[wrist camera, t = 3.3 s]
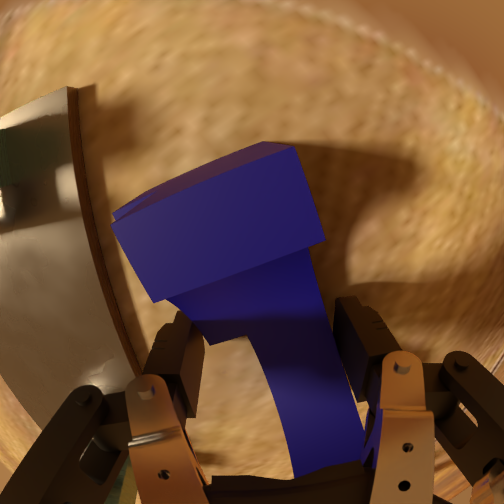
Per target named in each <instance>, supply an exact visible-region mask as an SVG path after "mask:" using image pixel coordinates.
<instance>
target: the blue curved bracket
mask: <svg viewBox="0 0 504 504" xmlns="http://www.w3.org/2000/svg"><path fill="white" fill-rule="evenodd" d="M112 214H113V216H114V218H115V220H116V221H115V222H114V223H112V224H111V225H110V226H111V228H112V230H113V232H114V234H115V235H116V237H117V239H118V241H119V243H120V245H121V247H122V249H123V251H124V253H125V254H126V256H127V258H128V260H129V262H130V264H131V265H132V267H133V269H134V271H135V273H136V274H137V276H138V278H139V280H140V281H141V283H142V285H143V287H144V288H145V290H146V292H147V293H148V295H149V297H150V298H151V300H152V302H153V303H156V302H159V301H162V300H164V299H166V300H167V301H169V302H171V303H172V304H174V305H175V306H176V307H178V308H179V309H180V310H181V311H182V312H183V313H184V314H185V315H186V316H188V317H189V319H190V320H191V321H192V322H193V323H194V324H195V325H196V327H197V328H198V329H199V331H200V332H201V333H202V335H203V336H204V338H205V339H206V340H207V342H208V343H209V345H210V346H211V345H214V344H217V343H221V342H224V341H227V340H231V339H234V338H237V337H240V336H244V335H247V336H248V338H249V340H250V342H251V344H252V346H253V348H254V351H255V353H256V355H257V357H258V359H259V362H260V364H261V366H262V369H263V371H264V374H265V376H266V379H267V381H268V384H269V387H270V389H271V392H272V395H273V398H274V401H275V404H276V407H277V410H278V413H279V416H280V420H281V423H282V426H283V430H284V434H285V437H286V441H287V445H288V449H289V454H290V458H291V463H292V468H293V473H294V478H297V477H300V476H303V475H306V474H308V473H311V472H314V471H316V470H319V469H321V468H324V467H326V466H332V465H337V464H342V463H346V462H351V461H355V460H359V457H360V453H361V448H362V443H363V437H364V429H363V426H362V423H361V420H360V417H359V414H358V411H357V408H356V405H355V402H354V399H353V396H352V393H351V389H350V386H349V383H348V380H347V377H346V374H345V371H344V368H343V365H342V362H341V359H340V355H339V352H338V349H337V346H336V343H335V340H334V337H333V333H332V330H331V327H330V324H329V321H328V317H327V314H326V311H325V308H324V304H323V301H322V298H321V294H320V291H319V288H318V284H317V281H316V277H315V274H314V270H313V266H312V262H311V258H310V253H309V249H308V247H309V246H312V245H315V244H317V243H320V242H323V241H325V240H326V239H325V236H324V233H323V229H322V226H321V223H320V220H319V217H318V213H317V210H316V207H315V204H314V201H313V198H312V195H311V192H310V189H309V186H308V183H307V180H306V178H305V175H304V172H303V169H302V166H301V163H300V161H299V158H298V155H297V152H296V150H295V147H294V146H290V145H284V144H277V143H271V142H264V141H263V142H260V143H257V144H254V145H252V146H249V147H247V148H244V149H241V150H239V151H236V152H234V153H231V154H229V155H226V156H224V157H221V158H219V159H216V160H214V161H212V162H209V163H207V164H205V165H202V166H200V167H198V168H195V169H193V170H191V171H189V172H186V173H184V174H182V175H180V176H177V177H175V178H173V179H171V180H169V181H167V182H165V183H162V184H160V185H158V186H156V187H154V188H152V189H150V190H148V191H146V192H144V193H143V194H141V195H139V196H138V197H136V198H135V199H133V200H132V201H130V202H128V203H127V204H125V205H124V206H122V207H121V208H119V209H118V210H116V211H115V212H113V213H112Z"/></svg>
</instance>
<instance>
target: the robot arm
mask: <svg viewBox="0 0 504 504" xmlns="http://www.w3.org/2000/svg"><path fill="white" fill-rule="evenodd" d="M333 337H334V340H335V343H336V346H337V349H338V352H339V355H340V358H341V361H342V363H343V366H344V369H345V371H346V374H347V376H348V379H349V382H350V384H351V387H352V390H353V392H354V395H355V398H356V400H357V403H359V402H364V401H367V402H368V405H369V408H368V411H367V417H366V424H365V430H364V437H363V443H362V448H361V453H360V457H359V460H355V461H351V462H346V463H342V464H337V465H332V466H326V467H324V468H321V469H319V470H316V471H314V472H311V473H308V474H306V475H303V476H300V477H297V478H294V479H291V480H280V479H272V478H264V477H257V476H251V475H240V476H212V483H211V484H209V483H208V481H207V479H206V477H205V475H204V473H203V471H202V469H201V466H200V464H199V462H198V459H197V457H196V454H195V452H194V449H193V447H192V444H191V442H190V439H189V436H188V434H187V431H186V429H185V425H186V418H196V412H197V404H198V397H199V389H200V382H201V375H202V368H203V361H204V354H205V348H204V340H203V335H202V333H201V332H200V331H199V329H198V328H197V327H196V325H195V324H194V323H193V322H192V321H191V320H190V319H189V317H188V316H186V315H185V314H184V313H183V312H182V311H181V310H179V311H177V313H176V316H175V319H174V322H173V323H166V324H165V325H164V326H163V327H162V328H161V329H160V330H159V331H158V332H157V335H156V338H155V340H154V341H155V342H154V343H153V346H152V350H151V351H150V354H149V357H148V359H147V362H146V365H145V368H144V371H143V373H142V375H141V376H138V377H136V378H134V379H133V380H131V381H130V382H129V383H128V385H127V387H126V389H125V391H122V392H117V393H112V394H106V395H103V393H102V392H101V390H100V389H99V388H98V387H96V386H94V385H83V386H80V387H78V388H76V389H74V390H73V391H72V392H71V393H70V394H69V396H68V397H67V398H66V399H65V401H64V402H63V403H62V405H61V406H60V408H59V409H58V410H57V412H56V413H55V414H54V416H53V417H52V418H51V420H50V421H49V423H48V424H47V425H46V427H45V428H44V430H43V431H42V432H41V434H40V435H39V437H38V438H37V439H36V441H35V442H34V444H33V445H32V447H31V448H30V450H29V451H28V452H27V454H26V455H25V457H24V458H23V460H22V461H21V463H20V464H19V466H18V467H17V469H16V470H15V472H14V474H13V475H12V477H11V478H10V480H9V481H8V483H7V484H6V486H5V488H4V489H3V491H2V493H1V494H0V504H104V503H105V501H106V499H107V497H108V495H109V493H110V491H111V489H112V487H113V485H114V483H115V481H116V479H117V477H118V475H119V473H120V471H121V469H122V467H123V465H124V463H125V461H126V459H127V457H128V455H129V454H130V459H131V464H132V468H133V473H134V477H135V481H136V485H137V489H138V493H139V496H140V500H141V503H142V504H452V503H450V502H448V501H446V500H444V499H442V498H440V497H438V496H436V495H434V494H433V486H434V464H435V438H436V439H437V441H438V442H439V443H440V445H441V446H442V447H443V448H444V450H445V451H446V452H447V454H448V455H449V456H450V458H451V459H452V460H453V462H454V463H455V464H456V465H457V467H458V468H459V469H460V471H461V472H462V473H463V475H464V476H465V477H466V479H467V480H468V482H469V483H470V484H471V486H472V487H473V488H472V494H471V495H472V497H471V498H470V504H504V385H503V384H502V383H501V382H500V381H499V380H498V379H497V378H495V377H494V376H493V375H492V374H491V373H490V372H489V371H488V370H487V369H486V368H485V367H484V366H483V365H481V364H480V363H479V362H478V361H477V360H476V359H475V358H474V357H473V356H471V355H470V354H468V353H466V352H463V351H453V352H450V353H448V354H447V355H446V356H445V358H444V360H443V363H422V362H421V360H420V359H419V358H418V357H417V356H416V355H414V354H412V353H410V352H407V351H402V349H401V348H400V346H399V344H398V343H397V341H396V340H395V338H394V337H393V335H392V333H391V332H390V330H389V329H387V326H386V324H385V323H384V322H383V320H382V318H381V317H380V315H379V314H378V312H376V311H375V310H373V309H372V308H370V307H369V306H364V307H362V305H361V304H360V302H359V301H358V299H357V297H356V296H347V297H339V298H336V301H335V312H334V323H333ZM460 403H462V404H463V405H464V406H465V407H466V408H467V409H468V411H469V412H470V413H471V414H472V415H473V416H474V417H475V418H476V420H477V423H478V427H477V426H476V425H475V424H474V423H473V422H472V421H471V420H470V418H469V417H468V416H467V415H466V414H465V413H464V412H463V411H462V409H461V408H460V407H459V404H460ZM91 439H92V441H91ZM90 441H91V442H90ZM89 442H90V444H89ZM88 444H89V446H88ZM87 446H88V447H87ZM86 447H87V449H86ZM85 449H86V451H85ZM84 451H85V452H84ZM83 452H84V454H83ZM82 454H83V456H82ZM81 456H82V457H81ZM80 458H81V459H80Z"/></svg>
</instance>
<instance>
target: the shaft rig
mask: <svg viewBox="0 0 504 504" xmlns="http://www.w3.org/2000/svg"><path fill="white" fill-rule="evenodd" d="M0 374H1V376H2V378H3V379H4V381H5V382H6V384H7V385H8V387H9V388H10V389H11V391H12V392H13V394H14V395H15V396H16V398H17V399H18V401H19V402H20V403H21V405H22V406H23V407H24V409H25V410H26V411H27V412H28V414H29V415H30V416H31V417H32V419H33V420H34V421H35V422H36V424H37V425H38V426H39V427H40V428H41V429H42V431H43V430H44V428H45V427H46V425H47V424H48V423H49V421H50V420H51V418H52V417H53V416H54V414H55V413H56V412H57V410H58V409H59V408H60V406H61V405H62V403H63V402H64V401H65V399H66V398H67V397H68V396H69V394H70V393H71V392H72V391H73V390H74V389H76V388H78V387H80V386H83V385H94V386H96V387H98V388H99V389H100V390H101V392H102V393H103V395H106V394H112V393H117V392H122V391H125V389H126V387H127V385H128V383H129V382H130V381H131V380H133V379H134V378H136V377H138V376H141V375H142V371H141V369H140V366H139V364H138V361H137V359H136V356H135V354H134V351H133V349H132V346H131V344H130V341H129V338H128V336H127V333H126V330H125V328H124V325H123V322H122V319H121V316H120V313H119V310H118V307H117V304H116V301H115V298H114V295H113V292H112V288H111V285H110V282H109V278H108V275H107V271H106V268H105V264H104V260H103V257H102V253H101V249H100V245H99V241H98V237H97V232H96V228H95V223H94V219H93V214H92V209H91V204H90V199H89V193H88V187H87V181H86V175H85V168H84V161H83V153H82V145H81V135H80V125H79V111H78V91H77V88H73V87H68V86H66V87H64V88H61V89H59V90H56V91H54V92H51V93H49V94H47V95H45V96H42V97H40V98H38V99H36V100H34V101H31V102H29V103H27V104H25V105H23V106H21V107H19V108H17V109H15V110H13V111H12V112H10V113H8V114H6V115H4V116H2V117H1V118H0ZM91 441H92V439H91ZM91 441H90V442H91ZM90 442H89V444H90ZM89 444H88V446H89ZM88 446H87V447H88ZM87 447H86V449H87ZM86 449H85V451H86ZM85 451H84V452H85ZM84 452H83V454H84ZM83 454H82V456H83ZM82 456H81V457H82ZM80 459H81V458H80ZM137 490H138V489H137V485H136V481H135V477H134V473H133V468H132V464H131V459H130V454H129V455H128V457H127V459H126V461H125V463H124V465H123V467H122V469H121V471H120V473H119V475H118V477H117V479H116V481H115V483H114V485H113V487H112V489H111V491H110V493H109V495H108V497H107V499H106V501H105V503H104V504H135V500H136V495H137Z"/></svg>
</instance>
